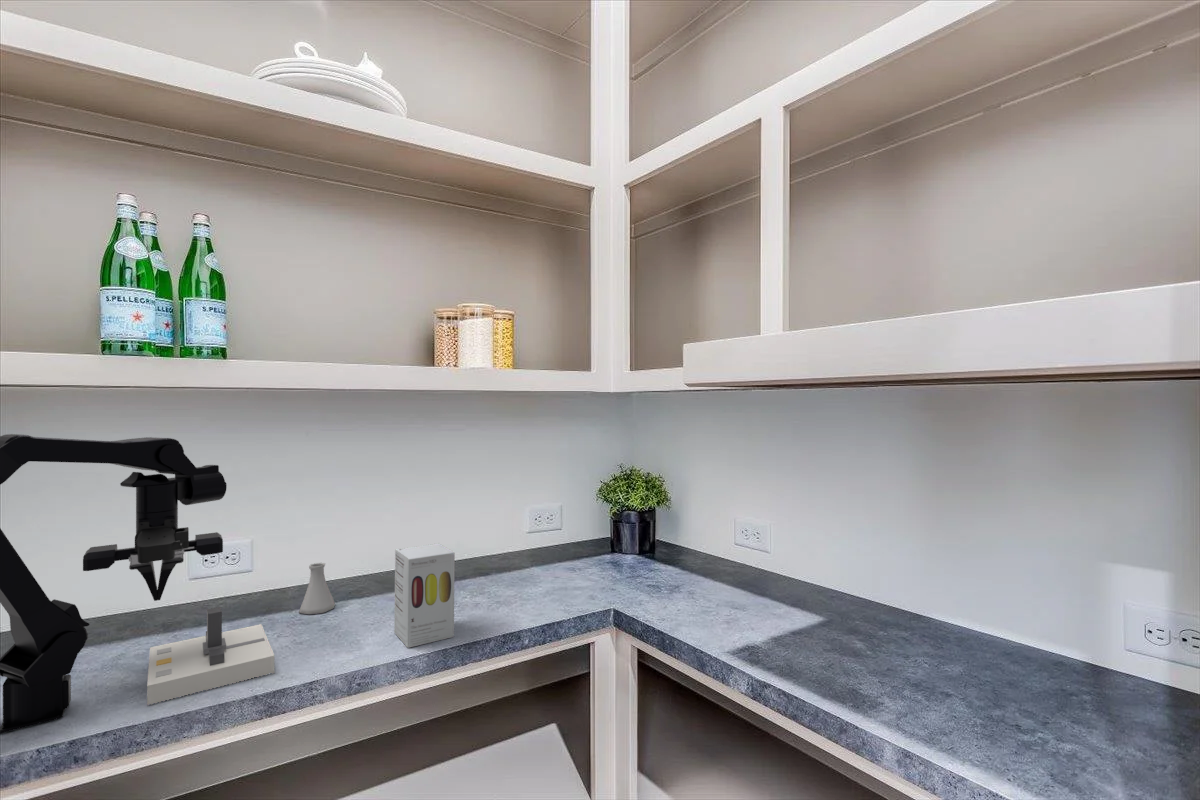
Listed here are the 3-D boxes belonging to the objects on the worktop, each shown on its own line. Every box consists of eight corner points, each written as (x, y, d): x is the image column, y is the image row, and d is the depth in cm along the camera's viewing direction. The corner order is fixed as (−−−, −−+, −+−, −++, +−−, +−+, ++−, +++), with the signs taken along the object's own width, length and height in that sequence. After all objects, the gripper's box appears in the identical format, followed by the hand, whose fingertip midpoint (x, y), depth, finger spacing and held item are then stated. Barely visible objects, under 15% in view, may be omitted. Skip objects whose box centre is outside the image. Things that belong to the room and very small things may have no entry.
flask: (340, 603, 130) (340, 559, 130) (325, 615, 123) (325, 569, 123) (309, 603, 130) (309, 560, 130) (292, 615, 123) (292, 569, 123)
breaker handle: (203, 654, 96) (203, 615, 96) (202, 647, 99) (202, 609, 99) (226, 649, 98) (226, 611, 98) (224, 642, 101) (224, 605, 101)
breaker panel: (147, 705, 87) (147, 676, 87) (150, 664, 100) (150, 638, 100) (274, 672, 97) (274, 646, 97) (261, 639, 110) (261, 616, 110)
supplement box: (406, 649, 106) (406, 559, 106) (392, 632, 114) (392, 548, 114) (456, 636, 112) (455, 551, 112) (439, 621, 119) (439, 541, 119)
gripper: (78, 525, 86) (78, 627, 86) (225, 510, 98) (225, 601, 98) (87, 513, 95) (87, 606, 95) (220, 501, 106) (220, 584, 106)
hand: (157, 599), depth 98 cm, fingers closed
